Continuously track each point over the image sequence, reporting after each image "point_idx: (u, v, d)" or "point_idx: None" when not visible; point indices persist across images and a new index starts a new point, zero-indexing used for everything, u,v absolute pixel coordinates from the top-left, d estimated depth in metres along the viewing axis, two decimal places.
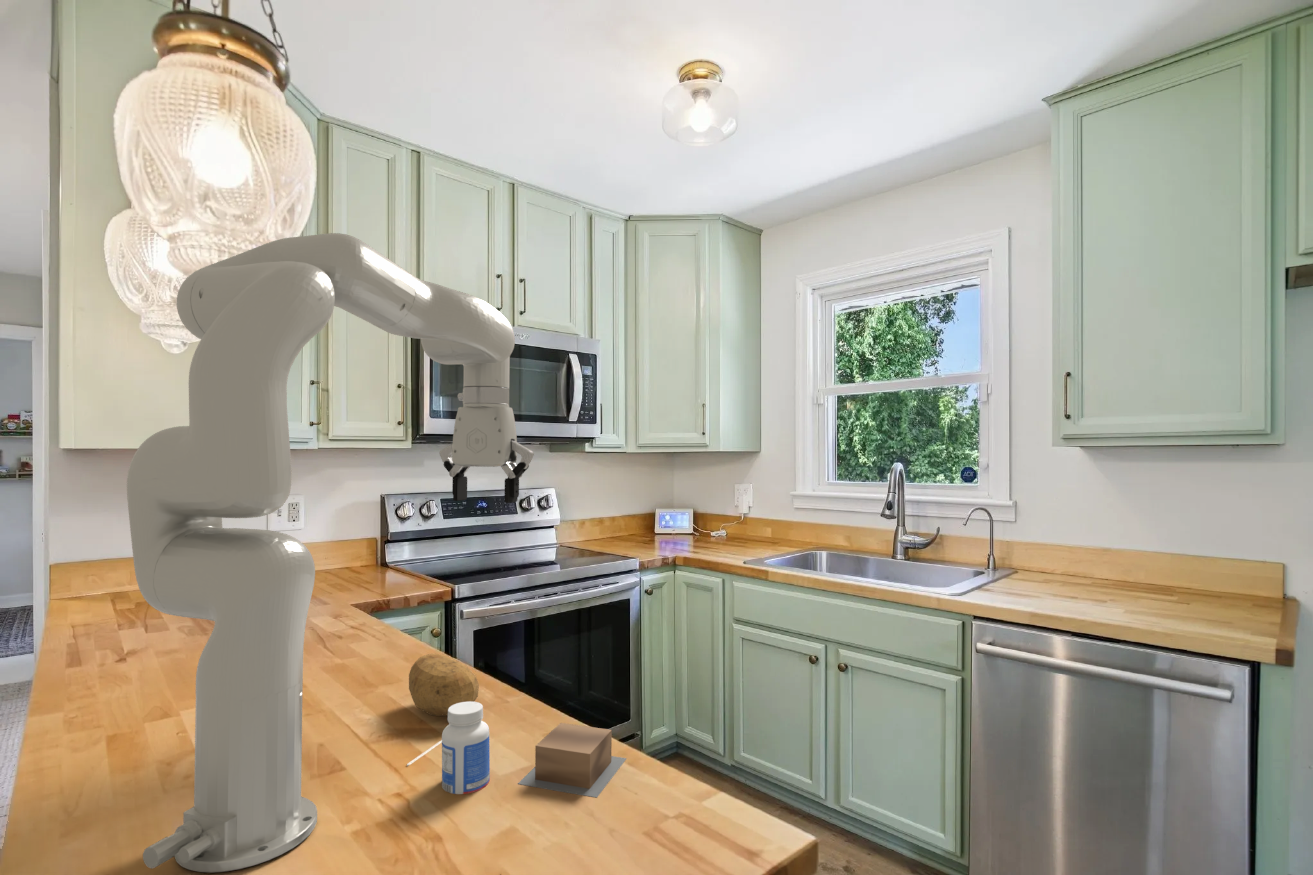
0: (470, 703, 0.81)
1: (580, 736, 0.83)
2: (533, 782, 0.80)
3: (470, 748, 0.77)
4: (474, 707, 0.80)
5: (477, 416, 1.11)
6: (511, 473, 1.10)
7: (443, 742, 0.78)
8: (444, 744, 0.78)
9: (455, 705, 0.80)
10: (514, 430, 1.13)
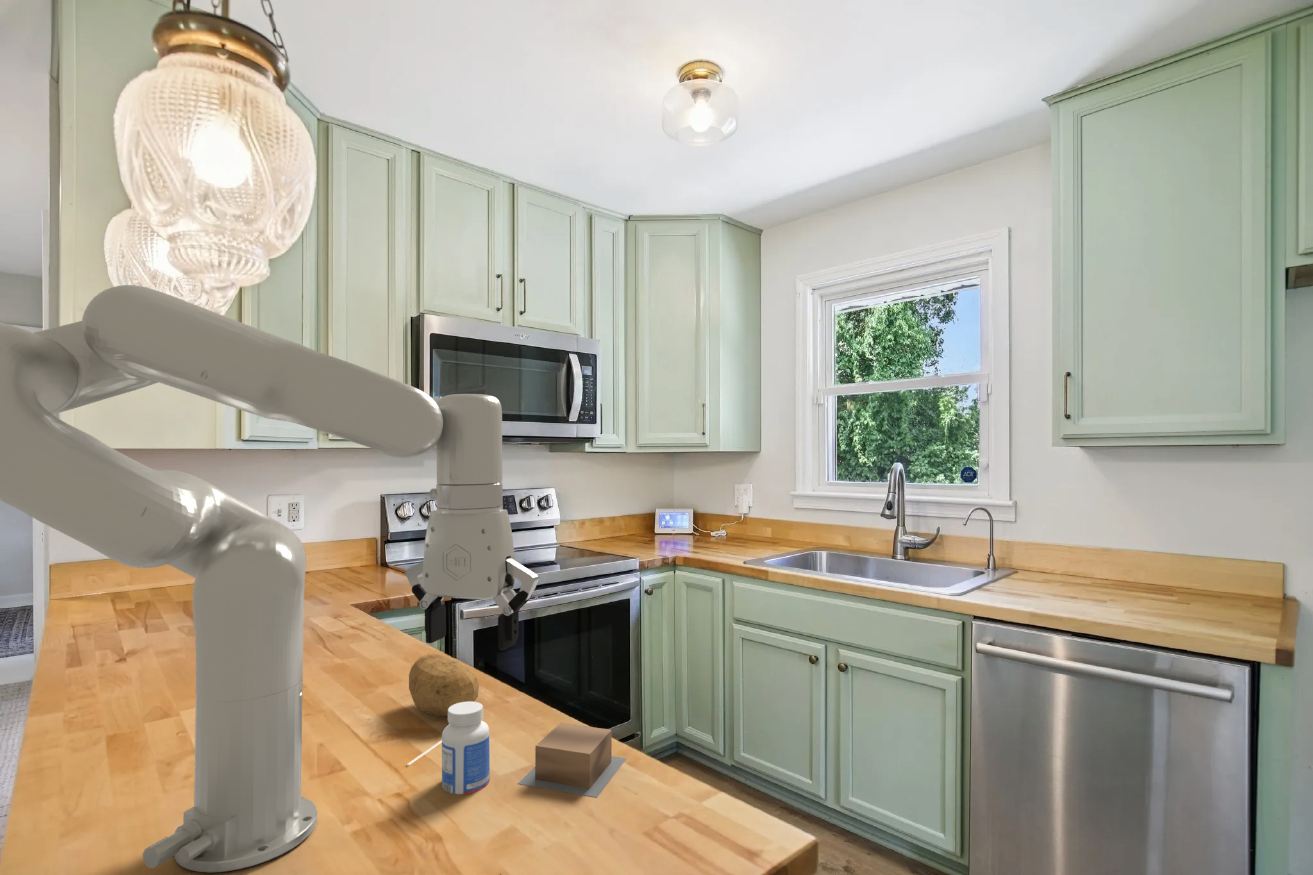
0: (470, 703, 0.81)
1: (580, 736, 0.83)
2: (533, 782, 0.80)
3: (470, 748, 0.77)
4: (474, 707, 0.80)
5: (456, 527, 0.77)
6: (507, 608, 0.77)
7: (443, 742, 0.78)
8: (444, 744, 0.78)
9: (455, 705, 0.80)
10: (510, 543, 0.79)
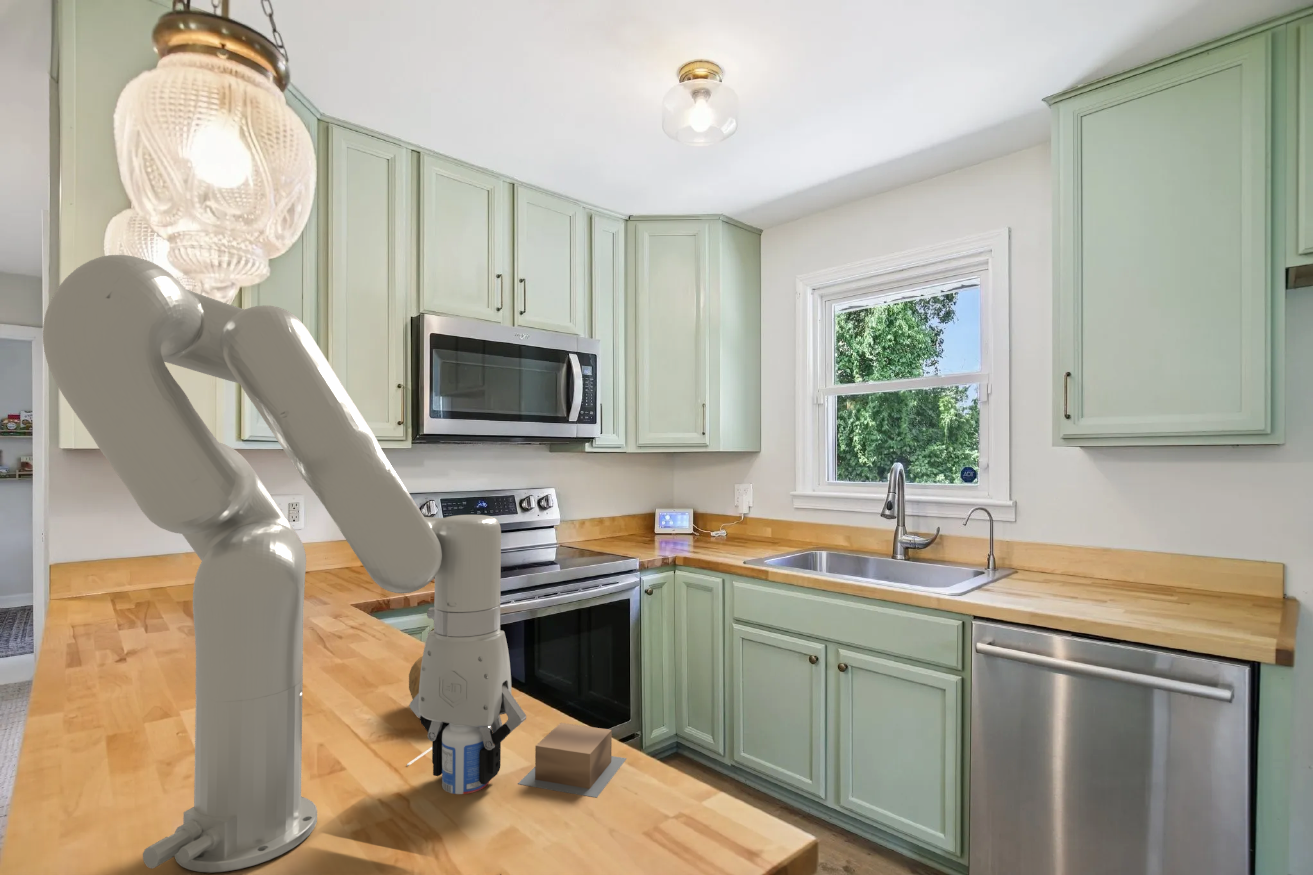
0: None
1: (580, 736, 0.83)
2: (533, 782, 0.80)
3: (470, 747, 0.77)
4: None
5: (453, 653, 0.77)
6: (489, 742, 0.77)
7: (443, 742, 0.78)
8: (444, 743, 0.78)
9: None
10: (507, 666, 0.79)
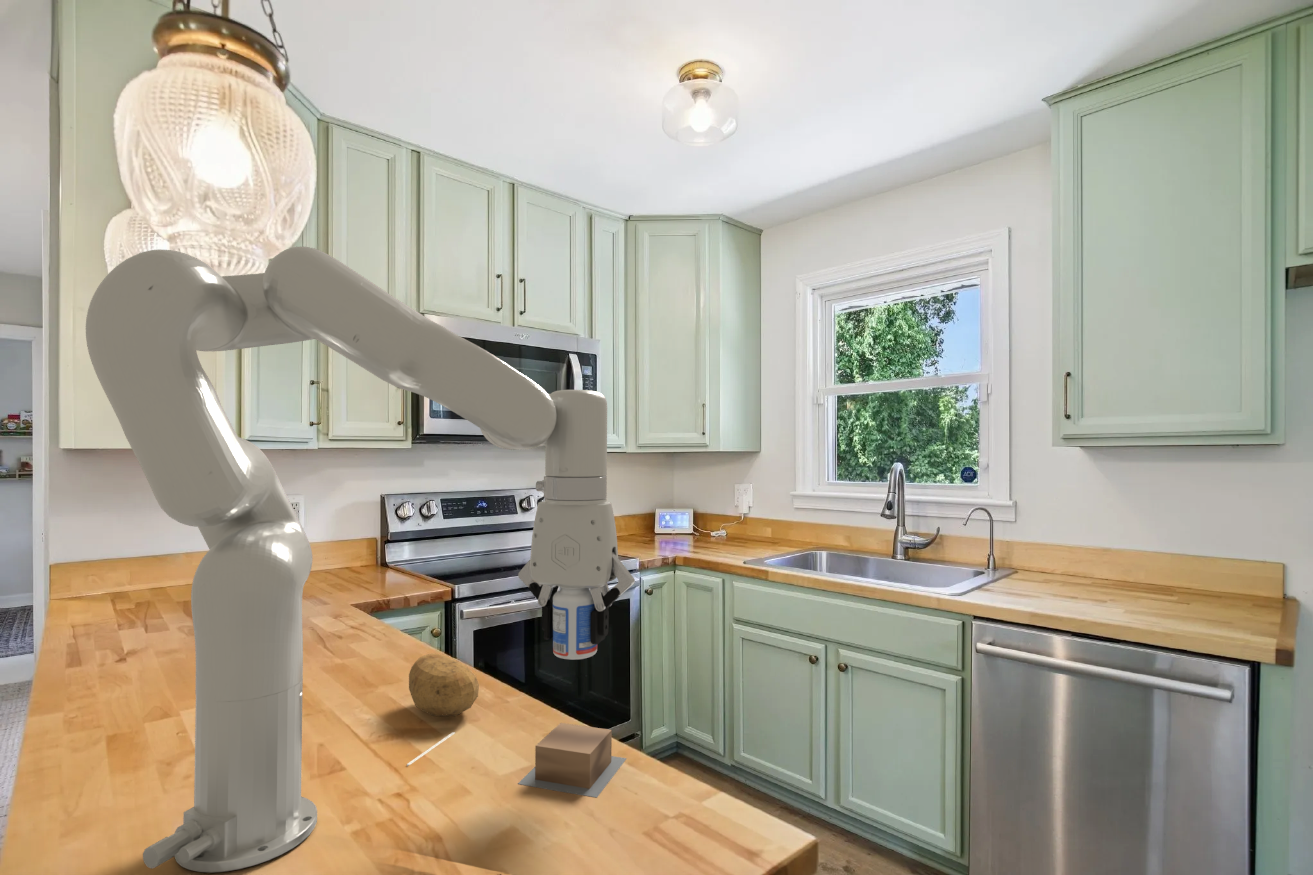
0: None
1: (580, 736, 0.83)
2: (533, 782, 0.80)
3: (582, 608, 0.80)
4: None
5: (566, 518, 0.80)
6: (600, 604, 0.80)
7: (555, 604, 0.81)
8: (557, 605, 0.81)
9: None
10: (615, 534, 0.82)
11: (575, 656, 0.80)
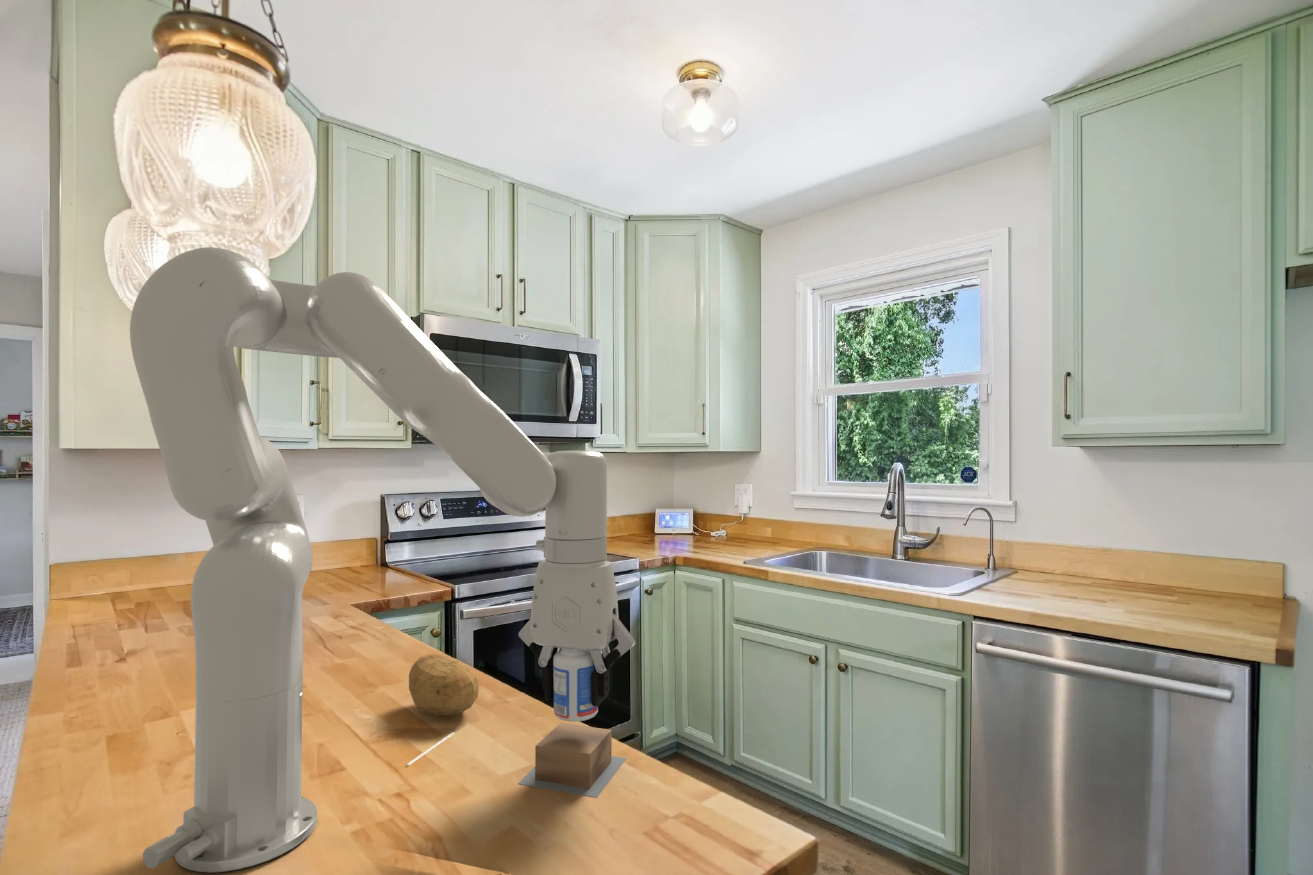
0: None
1: (580, 736, 0.83)
2: (533, 782, 0.80)
3: (582, 670, 0.80)
4: None
5: (566, 580, 0.80)
6: (601, 666, 0.80)
7: (556, 666, 0.81)
8: (557, 667, 0.81)
9: None
10: (615, 594, 0.82)
11: (575, 718, 0.80)
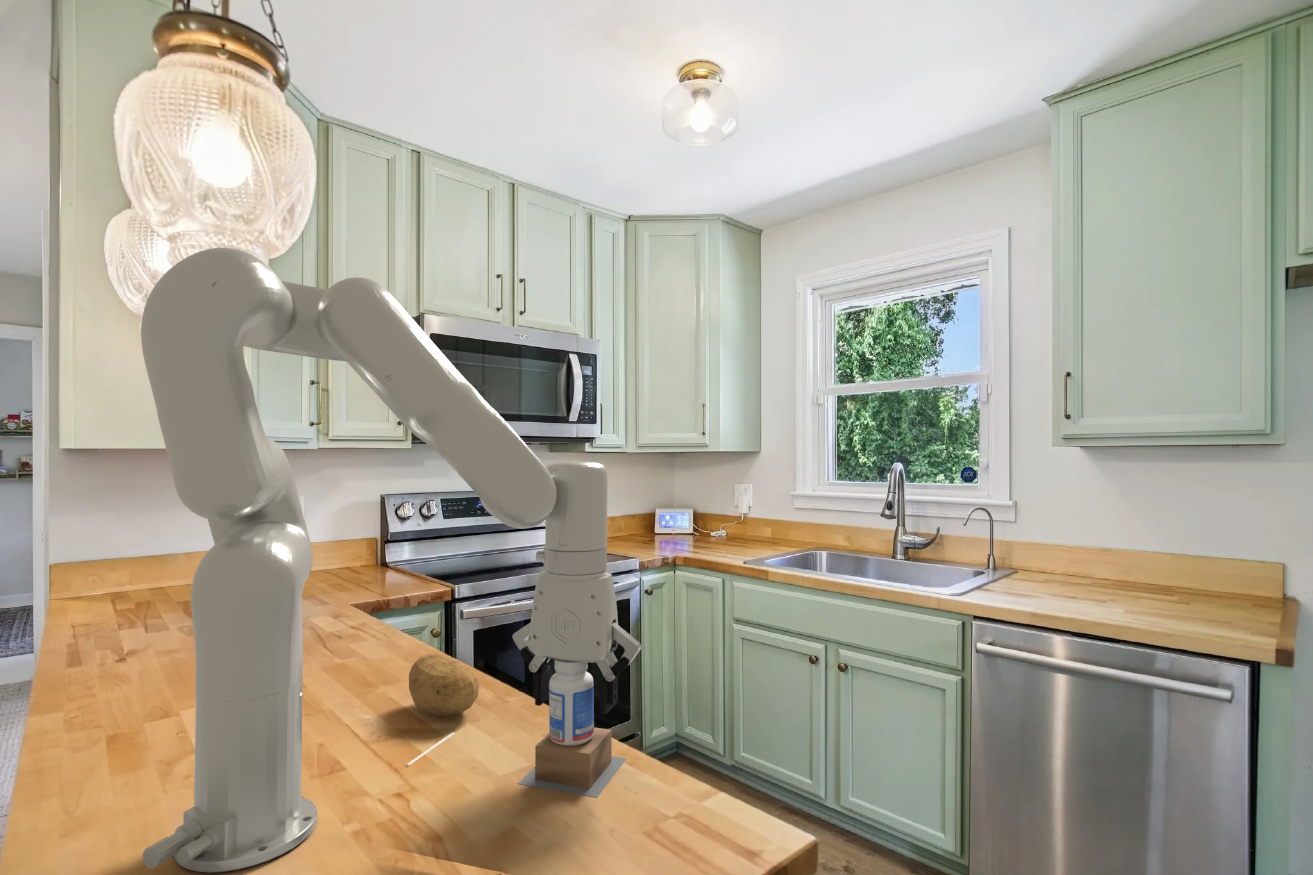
0: None
1: None
2: (533, 782, 0.80)
3: (578, 694, 0.80)
4: None
5: (566, 592, 0.80)
6: (609, 673, 0.80)
7: (551, 690, 0.81)
8: (553, 691, 0.81)
9: None
10: (615, 606, 0.82)
11: (571, 742, 0.80)
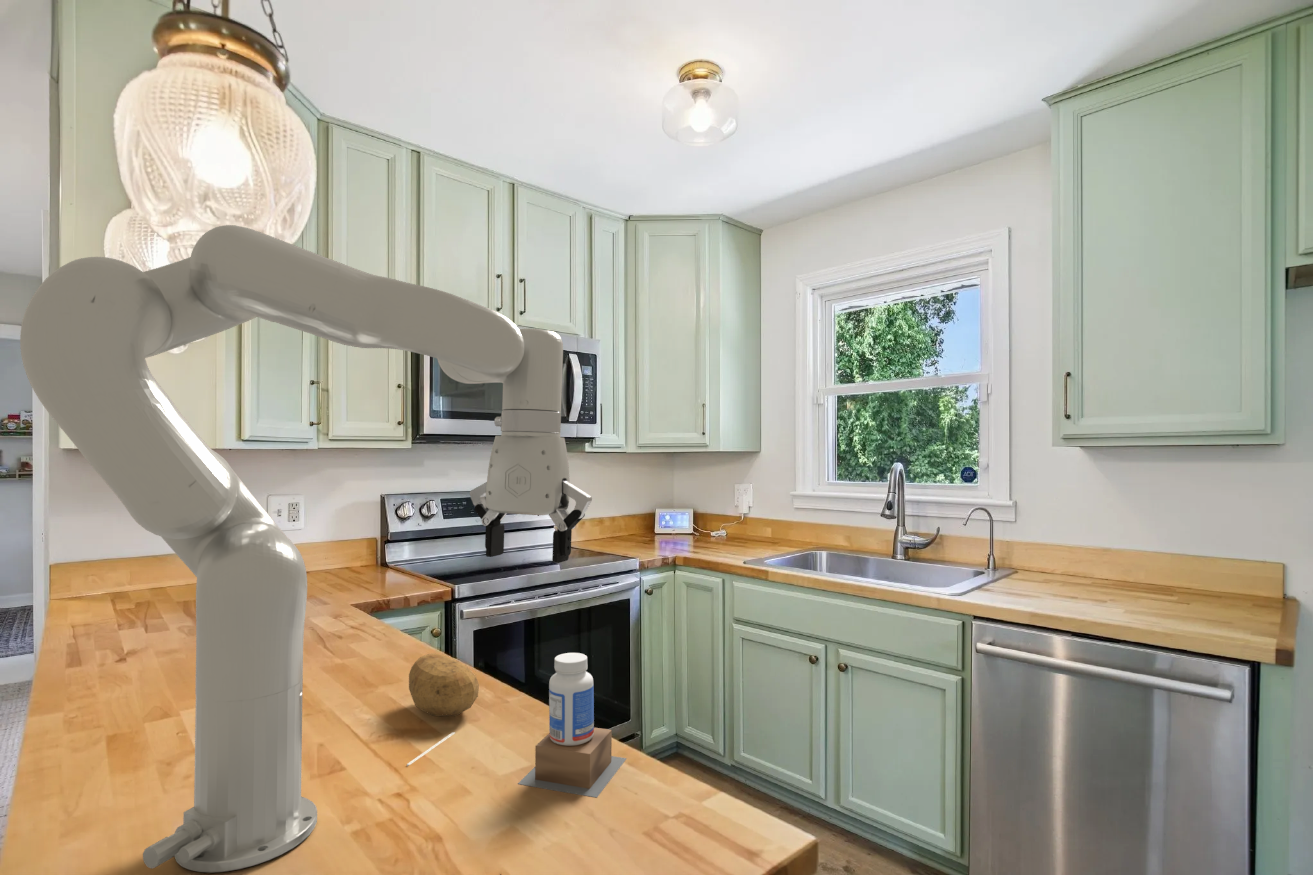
0: (574, 654, 0.84)
1: None
2: (533, 782, 0.80)
3: (578, 694, 0.80)
4: (579, 657, 0.83)
5: (519, 449, 0.85)
6: (562, 524, 0.84)
7: (551, 690, 0.81)
8: (553, 691, 0.81)
9: (560, 655, 0.83)
10: (566, 467, 0.86)
11: (571, 742, 0.80)
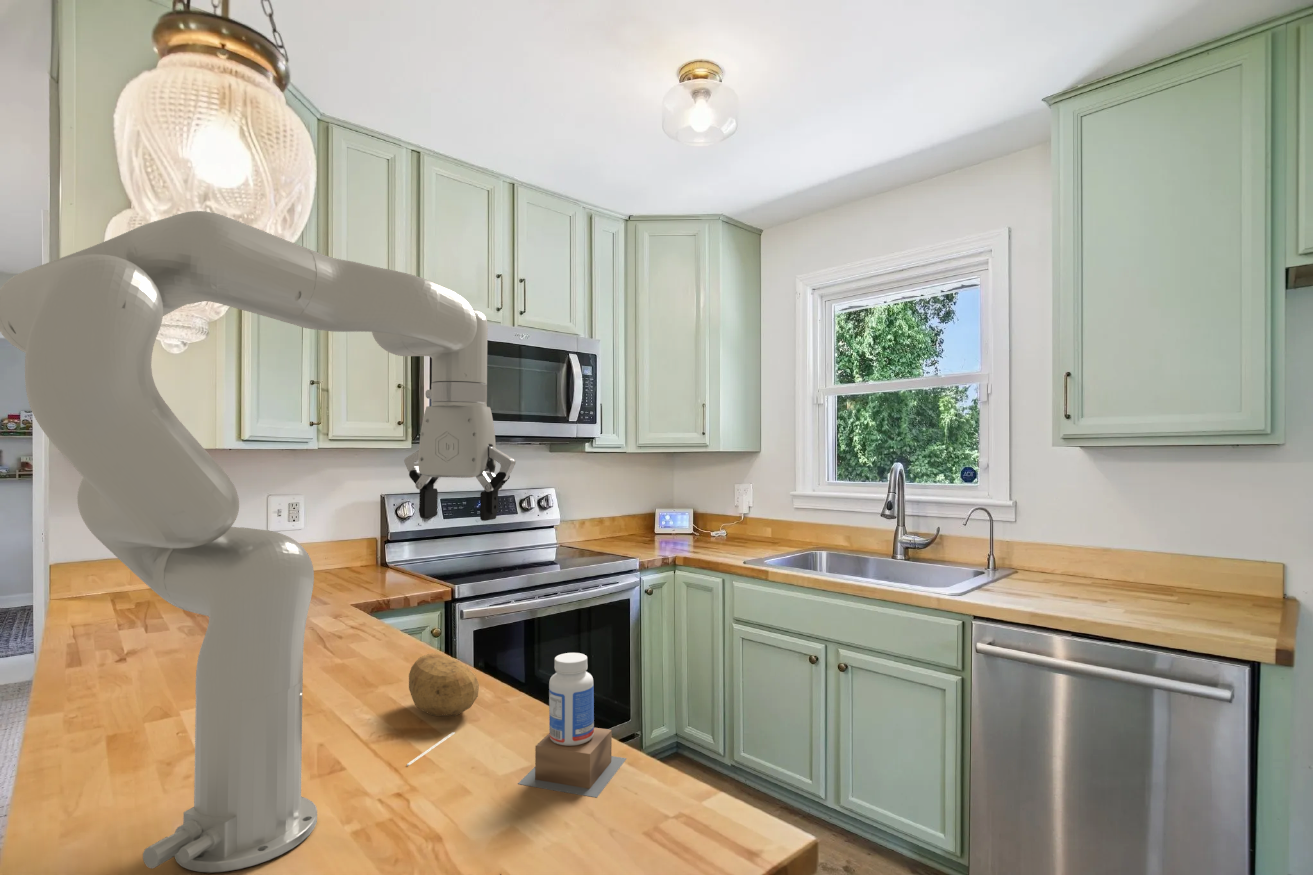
0: (574, 654, 0.84)
1: None
2: (533, 782, 0.80)
3: (578, 694, 0.80)
4: (579, 657, 0.83)
5: (447, 418, 0.93)
6: (488, 485, 0.92)
7: (551, 690, 0.81)
8: (553, 691, 0.81)
9: (560, 655, 0.83)
10: (492, 434, 0.95)
11: (571, 742, 0.80)
